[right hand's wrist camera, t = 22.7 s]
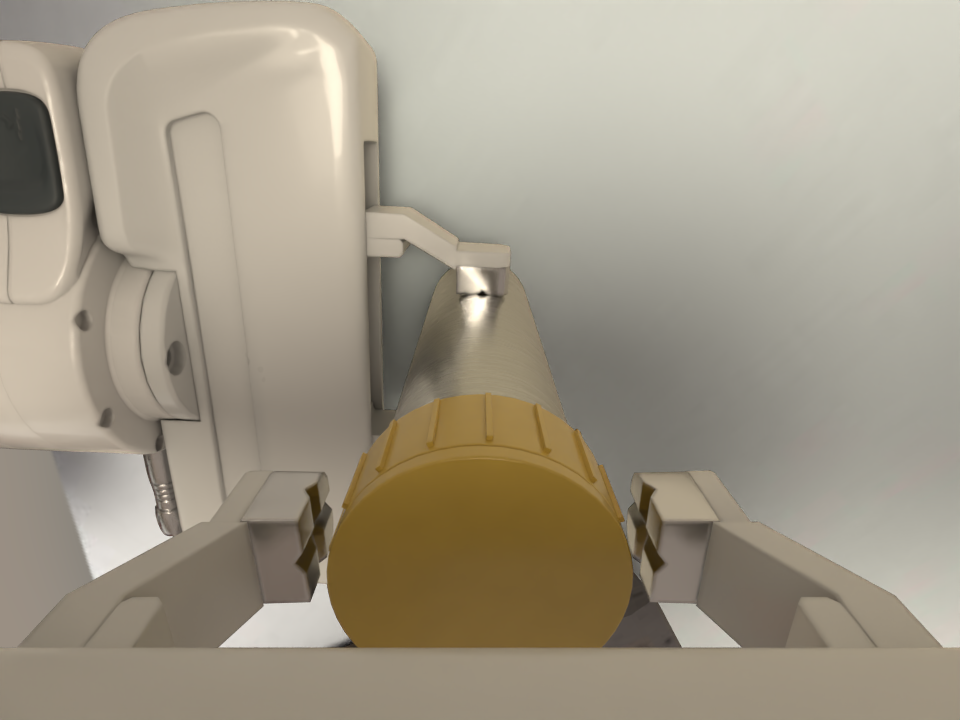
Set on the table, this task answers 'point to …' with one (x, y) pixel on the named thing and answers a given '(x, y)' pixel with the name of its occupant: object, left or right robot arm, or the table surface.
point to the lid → (479, 534)
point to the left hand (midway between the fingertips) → (503, 346)
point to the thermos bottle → (479, 350)
